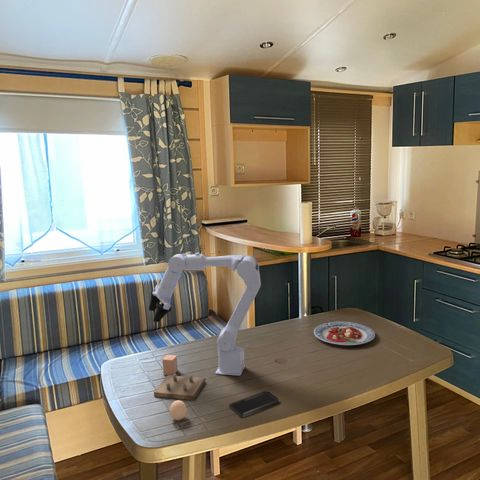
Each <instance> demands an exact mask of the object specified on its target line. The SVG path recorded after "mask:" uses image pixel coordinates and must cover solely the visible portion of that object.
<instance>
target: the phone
mask: <svg viewBox="0 0 480 480" xmlns="http://www.w3.org/2000/svg"><path fill="white" fill-rule="evenodd" d="M278 404H280V399H279V398H278V397H277V396H275V395H274V394H273V393H271V392H270V391H268V390H267V391H266V390H264V391H261V392H259V393H256V394H253V395H250V396H248V397H244V398H243V399H239V400H236V401H233V402H231V403H230V404H229V409H230V410H231V411H232V412H233V413H235V414H236V416H237V417H239V418H245V417H248V416H250V415H253V414H255V413H258V412H260V411H263V410H267V409H268V408H271V407H274V406H276V405H278Z"/></svg>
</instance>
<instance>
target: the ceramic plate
mask: <svg viewBox="0 0 480 480" xmlns="http://www.w3.org/2000/svg"><path fill="white" fill-rule="evenodd" d="M313 335H314V336H315V338H317V339H319V340H320V341H322V342H325V343H329V344H333V345H340V346H356V345H363V344H367V343H369V342H371V341H373V340H374V339H375V337H376V333H375V331H374V330H373V329H372V328H370V327H368V326H366V325H363V324H360V323H356V322H351V321H331V322H327V323H322V324H320V325H318V326H316V327H315V328H314V330H313Z"/></svg>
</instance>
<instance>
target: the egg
mask: <svg viewBox="0 0 480 480" xmlns="http://www.w3.org/2000/svg"><path fill="white" fill-rule="evenodd" d="M187 412H188V411H187V406H186V404H185V403H184V401H182V400H181V399H178V400H175V401H173V402H172V403H171V405H170V407H169V415H170V417H171V419H173V420H175V421H181V420H183V419H184V418H185V417H186V415H187Z"/></svg>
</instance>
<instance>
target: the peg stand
mask: <svg viewBox="0 0 480 480" xmlns="http://www.w3.org/2000/svg"><path fill="white" fill-rule="evenodd" d="M205 383H206V378H205V377H196V376H195V377H194V375H192V374H191V375H189V376H182V375H181V376H180V375H177V374H176V373H175V374H173V375H166V377H165V378H164V379H163V380H162V381H161V382H160V384H159V386H158V387H157V388H156V389H155V390H154V391H153V396H154V397H156V398H157V397H158V398H168V399H178V400H189V401H195V399H196V398H197V396H198V394H199V393H200V392H201V389H202V388H203V386H204V384H205Z"/></svg>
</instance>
